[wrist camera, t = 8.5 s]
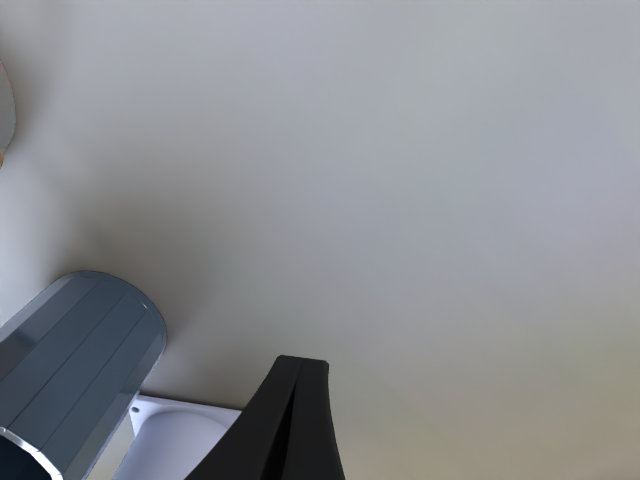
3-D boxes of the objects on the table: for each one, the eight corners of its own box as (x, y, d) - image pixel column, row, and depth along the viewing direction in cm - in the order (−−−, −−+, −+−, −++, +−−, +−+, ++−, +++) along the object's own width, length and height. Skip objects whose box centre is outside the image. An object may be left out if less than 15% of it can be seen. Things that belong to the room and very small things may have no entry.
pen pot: (173, 376, 27) (85, 534, 19) (62, 359, 27) (-67, 505, 19) (159, 279, 23) (43, 425, 15) (32, 262, 24) (-143, 395, 16)
